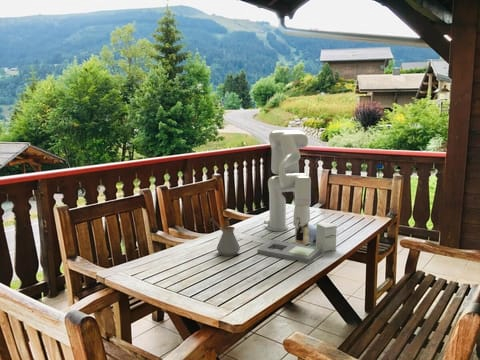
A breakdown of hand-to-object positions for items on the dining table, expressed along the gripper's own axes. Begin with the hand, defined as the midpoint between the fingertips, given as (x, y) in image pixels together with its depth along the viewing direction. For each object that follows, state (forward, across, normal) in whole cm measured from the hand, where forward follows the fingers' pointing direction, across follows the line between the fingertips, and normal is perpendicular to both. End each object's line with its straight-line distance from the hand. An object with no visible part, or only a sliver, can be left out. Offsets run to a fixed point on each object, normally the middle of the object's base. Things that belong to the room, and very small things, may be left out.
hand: (302, 238), depth 199 cm
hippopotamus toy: (+9, -23, -2) cm, 25 cm away
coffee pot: (+9, +13, -37) cm, 40 cm away
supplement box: (+9, -15, +7) cm, 19 cm away
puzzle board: (+9, 0, -7) cm, 11 cm away
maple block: (+2, 0, 0) cm, 2 cm away
